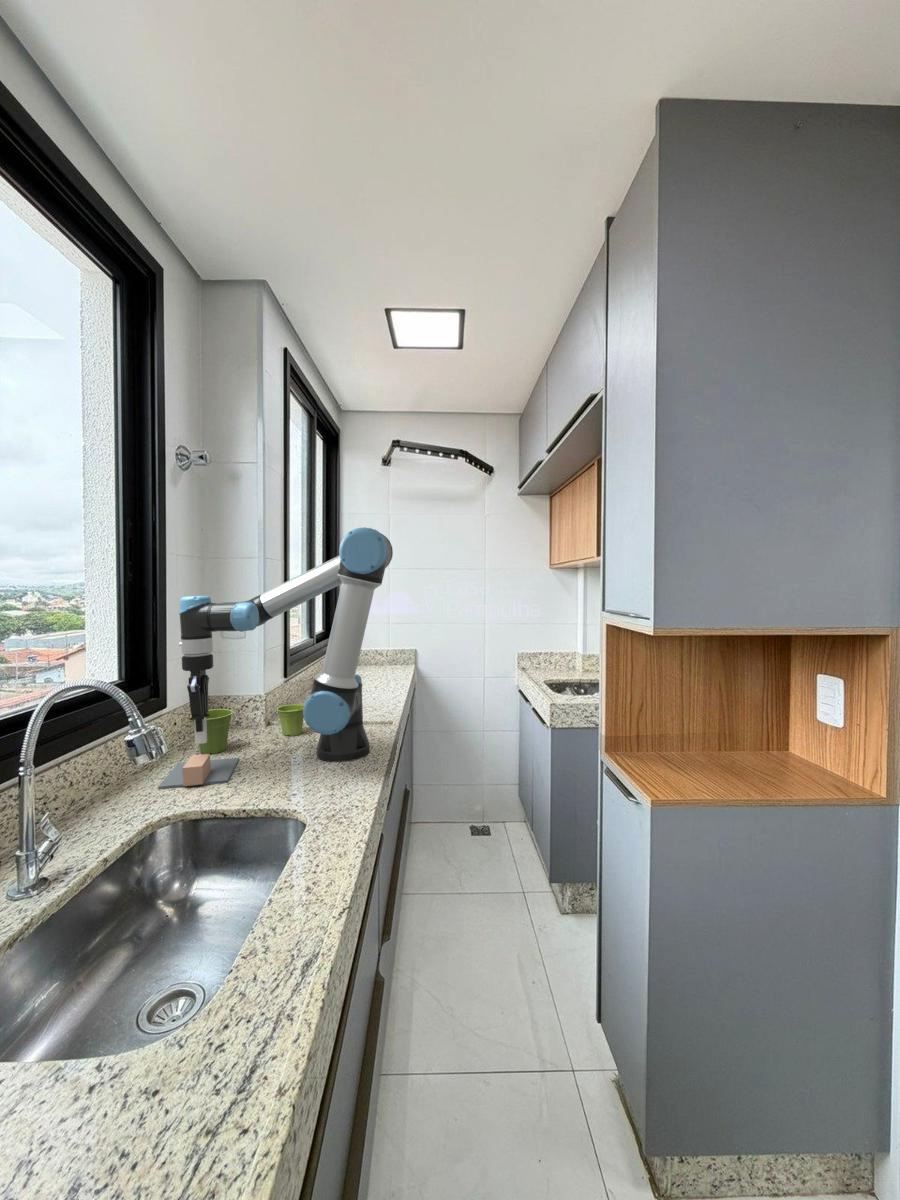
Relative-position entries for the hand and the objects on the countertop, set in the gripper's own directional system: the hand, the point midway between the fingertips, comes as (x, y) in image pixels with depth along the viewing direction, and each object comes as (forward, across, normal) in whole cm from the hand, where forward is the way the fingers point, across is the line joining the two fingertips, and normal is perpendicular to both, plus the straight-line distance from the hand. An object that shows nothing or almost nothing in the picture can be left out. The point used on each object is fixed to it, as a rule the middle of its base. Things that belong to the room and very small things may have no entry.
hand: (201, 742), depth 146 cm
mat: (+8, +1, 0) cm, 8 cm away
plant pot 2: (+8, -31, +21) cm, 38 cm away
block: (+5, +1, 0) cm, 5 cm away
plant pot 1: (+8, -19, -1) cm, 21 cm away
